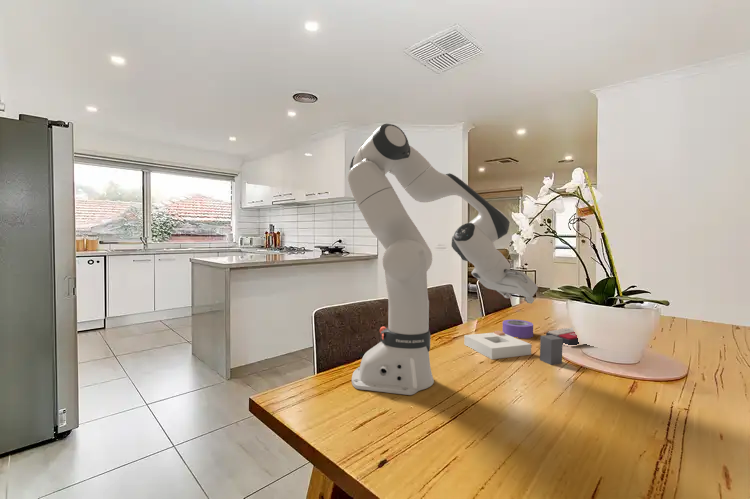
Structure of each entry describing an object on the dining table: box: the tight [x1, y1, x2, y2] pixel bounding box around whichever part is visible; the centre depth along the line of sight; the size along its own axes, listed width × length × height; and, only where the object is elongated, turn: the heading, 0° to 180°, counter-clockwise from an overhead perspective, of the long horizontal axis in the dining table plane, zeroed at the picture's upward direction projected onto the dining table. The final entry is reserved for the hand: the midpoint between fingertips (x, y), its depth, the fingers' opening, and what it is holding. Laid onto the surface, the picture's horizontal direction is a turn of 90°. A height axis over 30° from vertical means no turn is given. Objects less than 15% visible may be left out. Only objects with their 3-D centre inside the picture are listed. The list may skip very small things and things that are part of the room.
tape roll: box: [502, 319, 534, 339], centre depth 143 cm, size 12×12×5 cm
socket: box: [463, 330, 532, 360], centre depth 123 cm, size 16×16×4 cm
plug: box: [539, 334, 564, 366], centre depth 111 cm, size 4×4×8 cm
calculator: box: [545, 327, 579, 345], centre depth 135 cm, size 11×4×15 cm
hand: (519, 299), depth 108 cm, fingers open, 8 cm apart
